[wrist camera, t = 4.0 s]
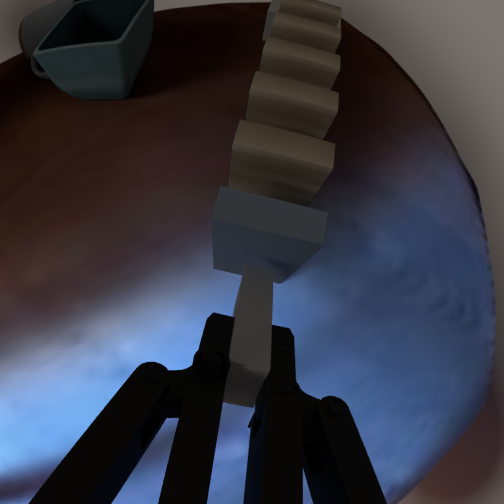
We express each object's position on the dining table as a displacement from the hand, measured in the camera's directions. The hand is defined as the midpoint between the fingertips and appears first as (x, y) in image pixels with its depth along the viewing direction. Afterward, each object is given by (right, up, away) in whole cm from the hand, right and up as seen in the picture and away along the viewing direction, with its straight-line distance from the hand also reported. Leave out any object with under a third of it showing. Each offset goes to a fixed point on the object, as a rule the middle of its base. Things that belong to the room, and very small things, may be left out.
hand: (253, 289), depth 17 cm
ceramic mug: (-24, +27, +11) cm, 37 cm away
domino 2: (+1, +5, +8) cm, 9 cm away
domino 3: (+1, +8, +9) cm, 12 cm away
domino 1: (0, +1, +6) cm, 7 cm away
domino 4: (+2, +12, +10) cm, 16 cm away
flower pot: (-14, +19, +10) cm, 26 cm away
